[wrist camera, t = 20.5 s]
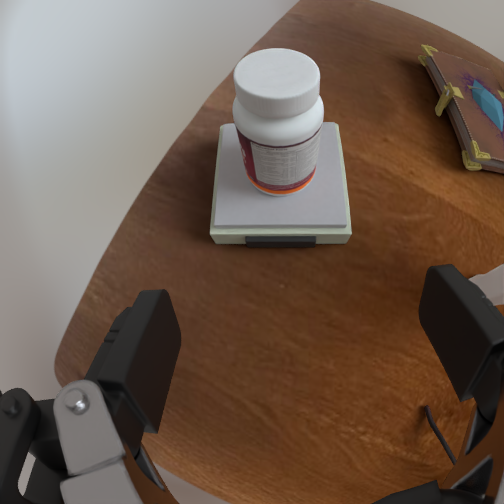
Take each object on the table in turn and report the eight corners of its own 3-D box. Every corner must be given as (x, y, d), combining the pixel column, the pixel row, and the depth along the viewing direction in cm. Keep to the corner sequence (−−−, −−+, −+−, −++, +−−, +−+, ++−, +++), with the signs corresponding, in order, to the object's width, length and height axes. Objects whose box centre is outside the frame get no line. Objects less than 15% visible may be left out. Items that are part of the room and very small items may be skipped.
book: (475, 68, 34) (485, 49, 30) (532, 188, 27) (552, 172, 22) (398, 45, 35) (406, 22, 30) (451, 172, 28) (472, 148, 23)
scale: (215, 249, 28) (206, 236, 25) (224, 140, 32) (218, 120, 29) (346, 249, 27) (354, 236, 24) (334, 138, 31) (338, 118, 27)
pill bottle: (248, 141, 27) (229, 44, 17) (314, 142, 27) (323, 44, 16) (243, 198, 26) (216, 105, 15) (316, 200, 25) (333, 106, 14)
